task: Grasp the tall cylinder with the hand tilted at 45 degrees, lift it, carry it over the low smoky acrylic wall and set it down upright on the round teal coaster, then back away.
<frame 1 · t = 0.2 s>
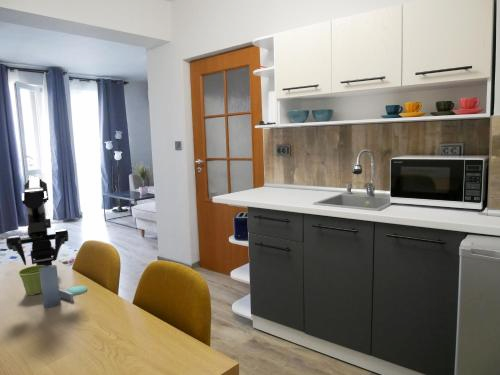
hand: (40, 262, 129), 14 cm above the table, tool tilted 35°, fingers open, 9 cm apart
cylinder: (52, 303, 129), on the table
acrylic wall: (63, 297, 134), on the table
plant pot: (35, 292, 140), on the table
coaster: (75, 291, 139), on the table
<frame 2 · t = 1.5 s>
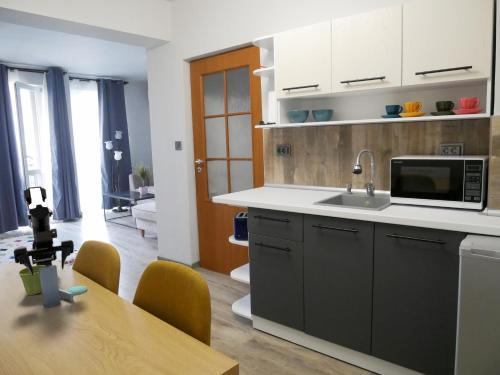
hand: (48, 271, 131), 10 cm above the table, tool tilted 45°, fingers open, 9 cm apart
nothing on the table moved.
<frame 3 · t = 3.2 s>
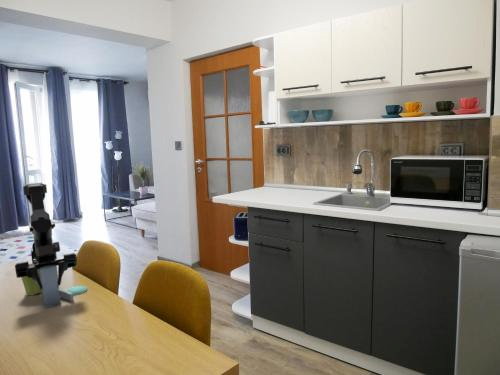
hand: (50, 286, 127), 7 cm above the table, tool tilted 45°, fingers closed on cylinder, 5 cm apart
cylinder: (52, 303, 129), on the table, touching gripper
everything else where it was.
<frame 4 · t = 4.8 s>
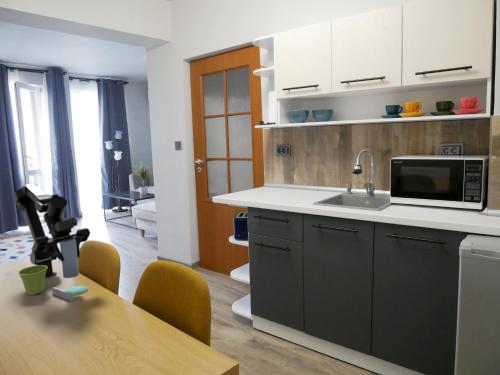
hand: (71, 258, 135), 13 cm above the table, tool tilted 45°, fingers closed on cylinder, 5 cm apart
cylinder: (71, 275, 137), point 7 cm above the table, touching gripper
everything else where it was.
when the fingers open (8 cm above the table, at t = 6.4 s): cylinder stays where it is, resting on coaster.
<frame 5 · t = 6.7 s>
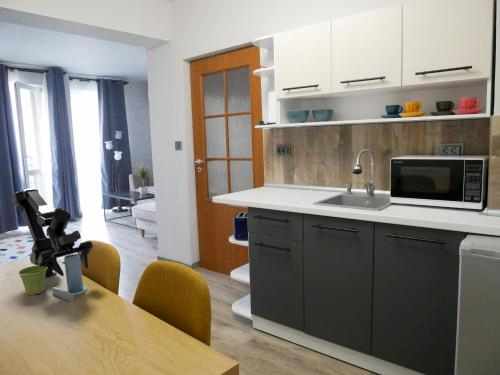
hand: (75, 271, 137), 8 cm above the table, tool tilted 45°, fingers open, 9 cm apart
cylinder: (75, 290, 139), resting on coaster
everything else where it was.
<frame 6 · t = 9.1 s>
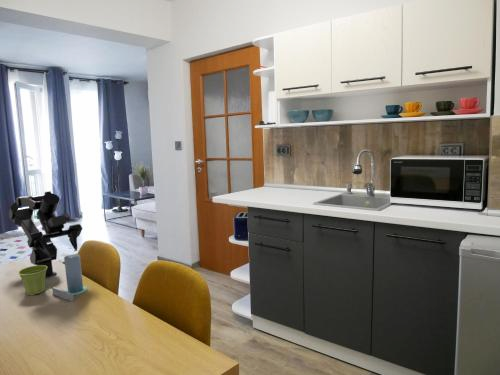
hand: (64, 252, 141), 14 cm above the table, tool tilted 45°, fingers open, 9 cm apart
nothing on the table moved.
at the end: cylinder 0.1 cm off-centre on the coaster, point 0.3 cm above the coaster's base; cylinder tilted 0°; the gripper is holding nothing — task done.
